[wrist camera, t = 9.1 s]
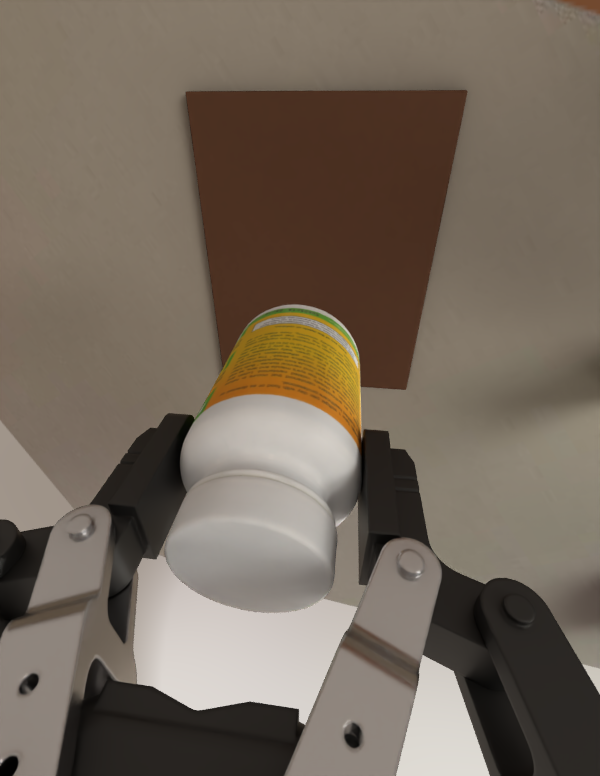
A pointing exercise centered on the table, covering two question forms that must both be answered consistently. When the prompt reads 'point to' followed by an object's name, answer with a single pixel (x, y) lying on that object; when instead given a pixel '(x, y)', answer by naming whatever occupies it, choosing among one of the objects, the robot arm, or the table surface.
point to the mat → (326, 209)
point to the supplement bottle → (272, 466)
